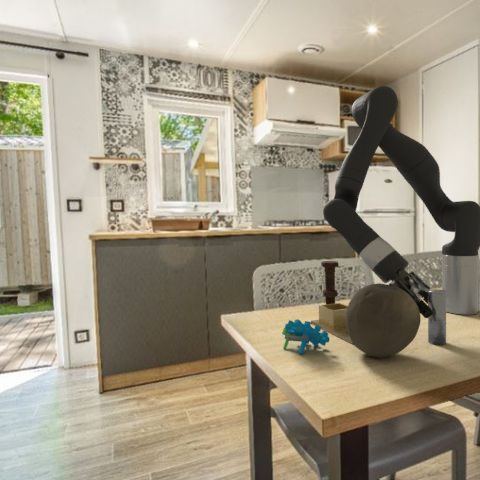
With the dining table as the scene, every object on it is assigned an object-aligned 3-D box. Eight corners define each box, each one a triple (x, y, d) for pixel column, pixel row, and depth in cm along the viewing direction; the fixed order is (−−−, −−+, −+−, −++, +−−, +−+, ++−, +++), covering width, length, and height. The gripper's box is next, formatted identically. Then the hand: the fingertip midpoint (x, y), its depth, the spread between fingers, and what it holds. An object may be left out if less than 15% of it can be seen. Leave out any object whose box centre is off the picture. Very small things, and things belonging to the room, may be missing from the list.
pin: (436, 339, 82) (435, 288, 81) (449, 343, 79) (449, 291, 78) (424, 341, 81) (424, 290, 80) (438, 346, 77) (437, 292, 77)
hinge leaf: (346, 318, 101) (346, 300, 101) (393, 336, 84) (393, 315, 84) (310, 323, 97) (310, 304, 97) (352, 344, 80) (352, 321, 80)
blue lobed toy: (338, 342, 77) (317, 317, 72) (331, 367, 74) (309, 343, 69) (296, 338, 85) (275, 316, 80) (288, 361, 81) (266, 339, 76)
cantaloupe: (382, 374, 64) (381, 294, 63) (332, 349, 77) (331, 282, 76) (435, 360, 70) (435, 286, 69) (380, 339, 83) (380, 277, 82)
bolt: (341, 305, 116) (340, 261, 115) (336, 309, 112) (336, 262, 111) (324, 304, 119) (323, 260, 119) (319, 307, 115) (318, 262, 114)
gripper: (384, 251, 79) (441, 308, 72) (402, 247, 90) (453, 296, 83) (361, 273, 83) (414, 329, 76) (381, 266, 94) (429, 314, 87)
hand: (434, 311), depth 80 cm, fingers open, 8 cm apart
